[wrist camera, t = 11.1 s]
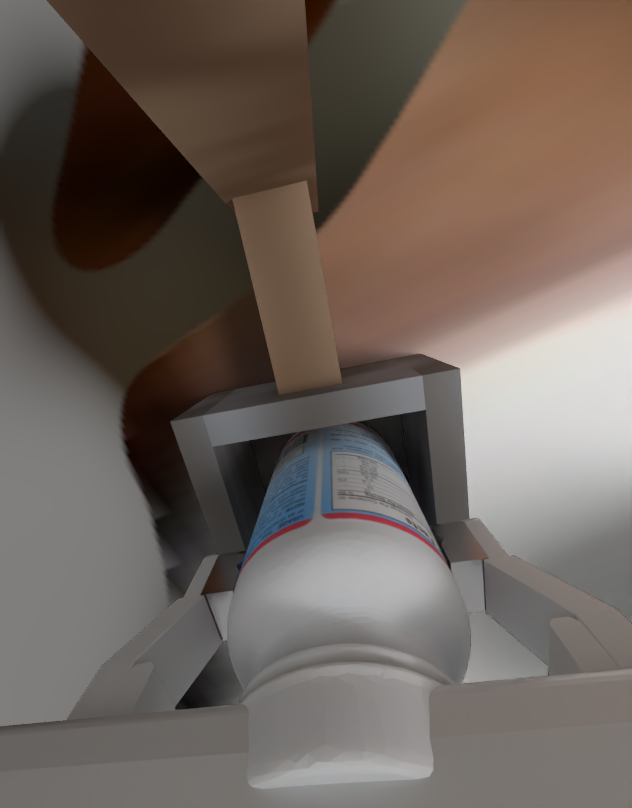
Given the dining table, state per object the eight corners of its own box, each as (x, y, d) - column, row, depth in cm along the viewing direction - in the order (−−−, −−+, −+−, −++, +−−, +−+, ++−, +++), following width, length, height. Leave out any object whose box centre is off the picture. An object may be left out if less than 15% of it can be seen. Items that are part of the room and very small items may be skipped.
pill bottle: (301, 532, 16) (245, 957, 6) (260, 434, 15) (71, 768, 4) (409, 505, 15) (592, 941, 5) (379, 398, 14) (553, 694, 3)
